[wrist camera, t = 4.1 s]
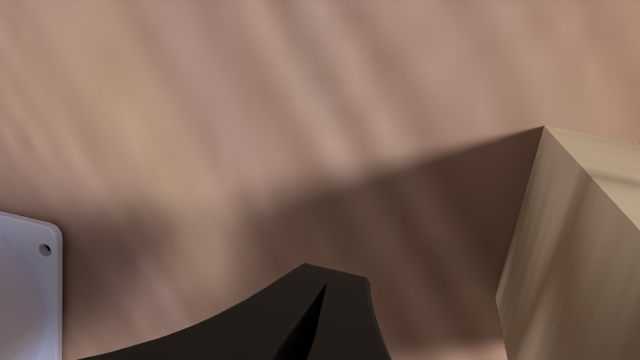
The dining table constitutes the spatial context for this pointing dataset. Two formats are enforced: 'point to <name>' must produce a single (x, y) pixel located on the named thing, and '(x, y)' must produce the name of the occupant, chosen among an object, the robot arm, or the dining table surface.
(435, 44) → the dining table surface
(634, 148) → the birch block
